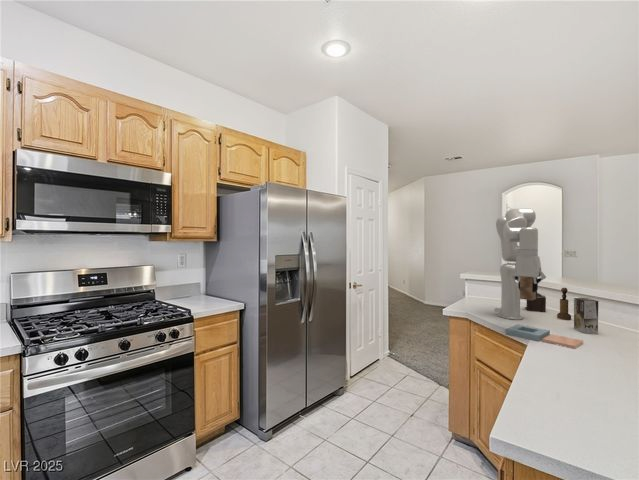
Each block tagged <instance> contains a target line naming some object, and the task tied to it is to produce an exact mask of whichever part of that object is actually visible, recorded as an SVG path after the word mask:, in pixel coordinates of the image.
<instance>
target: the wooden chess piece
mask: <svg viewBox="0 0 639 480" xmlns="http://www.w3.org/2000/svg"><path fill="white" fill-rule="evenodd" d="M560 291H561V293H562V294H561V298H559V312H558V313H557V315H556V318H557V319H558V320H563V321H564V320H565V321H571V320H572V315H571V314H570V313H569V299H567V297H568V296H567V295H566V294H567V293H568V288H567V287H561V288H560Z"/></svg>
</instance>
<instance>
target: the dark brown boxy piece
mask: <svg viewBox="0 0 639 480" xmlns="http://www.w3.org/2000/svg"><path fill="white" fill-rule="evenodd" d="M546 300H547V297H546V295H543V294H541V293H539V292H538V290H537V291H536V299H534V300H526V303H525V305H526V306H525V307H524V308H525V310H526V311H530V312H537V313H546V312H547V311H546V310H547V309H546V307H547V301H546Z"/></svg>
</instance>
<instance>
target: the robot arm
mask: <svg viewBox="0 0 639 480" xmlns="http://www.w3.org/2000/svg"><path fill="white" fill-rule="evenodd" d="M536 217H537V216H536V212H535V210H533V209H532V208H512V209H509V210H508V211H506V213H505V214H504V216H501V217H498V218H497V219H496V221H495V227H496V231H497V234H498V236H499V239H500V248H501V249H500V250H501V258H502V260H503V261H504V262H507V263H503V264H502V265H501V266H500V267H499V274H500V279H501V280H500V281H501V282H500V283H501V294H500V295H501V302H500V304H501V307H500V308H499V307H494V312H498V317H499V318H502V319H506V320H519V321H520V320H523V319H524V316H523V315H522V314H521V299H520V276H523V277H532V278H533V282H534V284H533V292H536V291H537V292H538V289H539V288H538V287H539V284H540V283H541V281H543V280H545V279H546V278H547V276H546V275H545V274H544V273H543V271H542V263H541V259H540V256H539V229H538V228H537V227H532V226H533V224H534V223H535V221H536ZM509 262H510V263H509ZM512 262H513V263H512ZM517 282H518V283H517Z"/></svg>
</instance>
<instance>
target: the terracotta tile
mask: <svg viewBox="0 0 639 480" xmlns="http://www.w3.org/2000/svg"><path fill="white" fill-rule="evenodd" d="M541 341H543V343H547V342H549V343H548V344H551V343H553V344H552V345H556V344H558V345H557V346H560V345H561V347H565V346H566V348H569V347H571V349H574V348H575V349H577V348H579V347H580V346H582V345H583V344H584V340H583V339H578V338H572V337H568V336H562V335H558V334H553V333H550V335H549V336H547V337H545V338H543V339H542V340H541ZM578 346H579V347H578ZM576 347H577V348H576Z"/></svg>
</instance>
